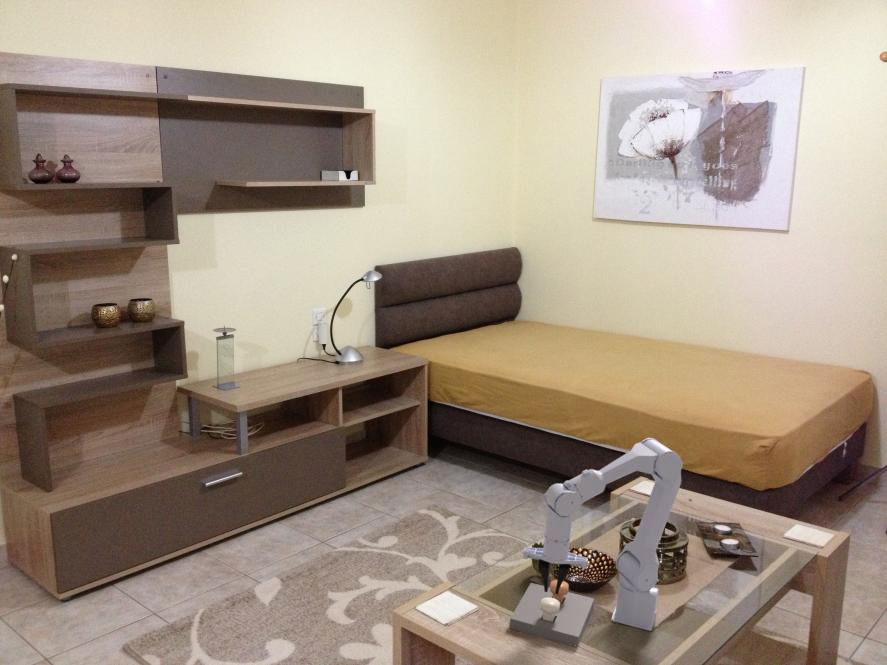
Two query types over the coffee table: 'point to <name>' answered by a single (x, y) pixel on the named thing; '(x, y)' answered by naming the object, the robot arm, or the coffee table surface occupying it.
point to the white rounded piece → (549, 608)
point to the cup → (536, 562)
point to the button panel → (566, 621)
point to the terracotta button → (562, 590)
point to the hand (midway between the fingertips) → (551, 590)
